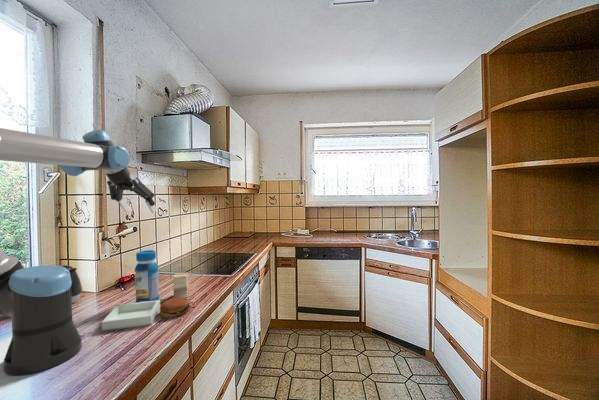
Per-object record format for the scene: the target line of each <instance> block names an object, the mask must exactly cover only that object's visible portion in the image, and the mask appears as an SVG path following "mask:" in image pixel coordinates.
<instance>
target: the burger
mask: <svg viewBox="0 0 599 400" xmlns="http://www.w3.org/2000/svg"><path fill="white" fill-rule="evenodd" d="M190 308H191V305H190V301H189V299H188V297H186V298H184V297H182V298H174V297H173V298H170V299H167V300H165V301H164V302H162V303H161V304H160V310H159V316H160V317H162V318H165V319H169V318H175V317H178V316H181V315H184V314H185V313H186V312H188V311H189V309H190Z"/></svg>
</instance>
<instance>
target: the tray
mask: <svg viewBox="0 0 599 400" xmlns="http://www.w3.org/2000/svg"><path fill="white" fill-rule="evenodd" d="M160 306H161V299H159V300H155V301H147V302H138V303H136V302H132V303H131V302H130V303H122V304H117V305H116V306H115V307H113V309H112V310H111V311H110V312H109V313H108V314H107V316H105V318H104V319H103V320H102V321H101V332H102V333H104V332H109V331H110V332H111V331H119V330H124V329H132V328H140V327H146V326H147V327H148V326H152V325H153V323H154V321H155V319H156V317H157V315H158V314H159V313H160Z"/></svg>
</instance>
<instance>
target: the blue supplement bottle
mask: <svg viewBox="0 0 599 400" xmlns="http://www.w3.org/2000/svg"><path fill="white" fill-rule="evenodd" d="M135 256H136V257H135V260H136V262H137V264H136V265H135V268H134V272H135V275H134V283H135V303H138V302H147V301H155V300H160V294H159V293H160V291H159V290H160V288H159V287H160V286H159V276H160V272H159V271H158V270H159V265H158V263H157V262H156V261H155V260H156V259H157V252H156V250H154V249H149V250H141V251H138V252H136V253H135Z"/></svg>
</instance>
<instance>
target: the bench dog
mask: <svg viewBox="0 0 599 400" xmlns="http://www.w3.org/2000/svg"><path fill="white" fill-rule="evenodd" d="M172 278H173V279H172V280H173V283H172V284H173V285H172V286H173V298H182V297H184V298H188V295H189V273H188V271H187V272H178V273H176V272H175V273H174V275H173V276H172Z"/></svg>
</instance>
